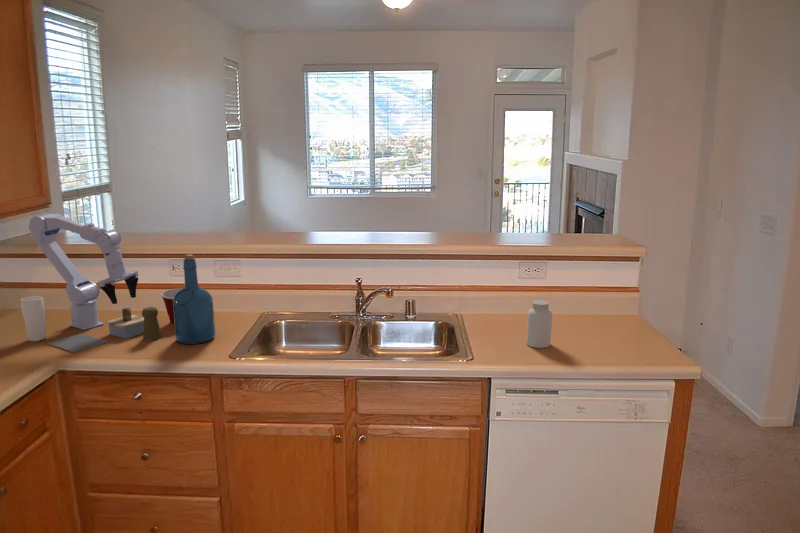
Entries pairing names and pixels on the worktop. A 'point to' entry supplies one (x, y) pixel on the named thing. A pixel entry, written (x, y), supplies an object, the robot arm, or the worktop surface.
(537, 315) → the pill bottle
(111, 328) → the dish
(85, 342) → the mat
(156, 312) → the olive green shaker
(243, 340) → the worktop surface
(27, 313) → the drinking glass
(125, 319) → the lid
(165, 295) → the plastic cup
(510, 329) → the worktop surface
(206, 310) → the wine bottle
